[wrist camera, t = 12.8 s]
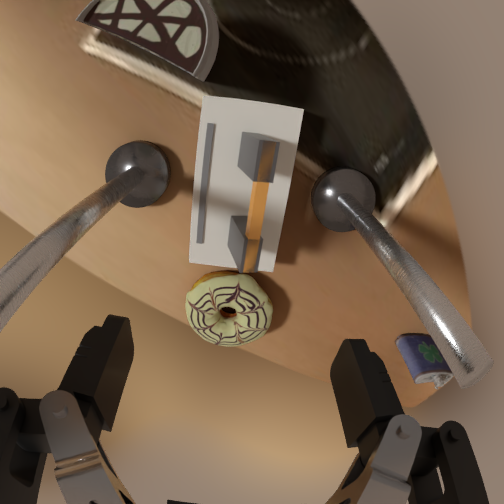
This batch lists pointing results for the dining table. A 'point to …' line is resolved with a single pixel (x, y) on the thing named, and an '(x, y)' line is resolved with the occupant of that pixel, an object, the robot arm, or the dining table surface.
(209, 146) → the switch panel
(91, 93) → the dining table surface
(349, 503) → the robot arm
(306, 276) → the dining table surface
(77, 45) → the dining table surface
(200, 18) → the food container
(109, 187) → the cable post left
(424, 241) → the dining table surface
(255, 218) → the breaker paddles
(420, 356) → the flask
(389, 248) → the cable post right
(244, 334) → the decorated donut
